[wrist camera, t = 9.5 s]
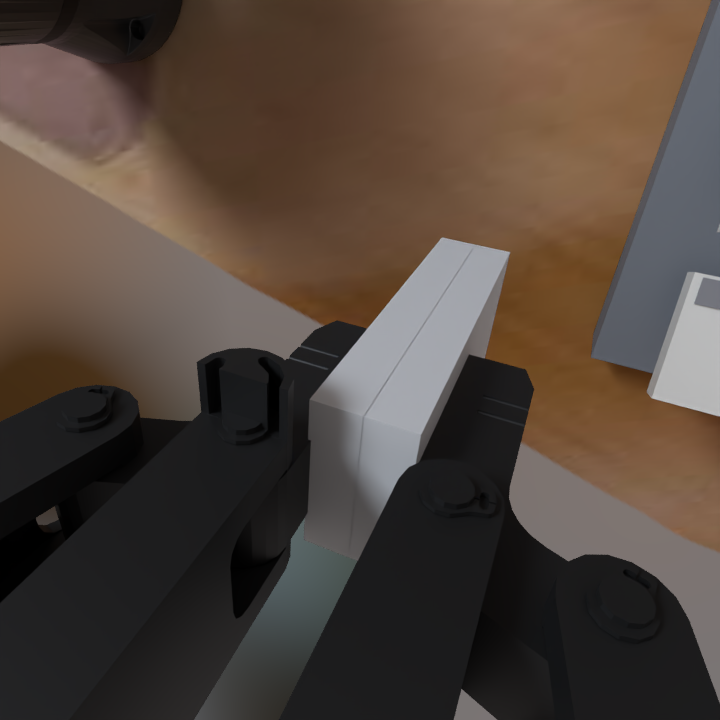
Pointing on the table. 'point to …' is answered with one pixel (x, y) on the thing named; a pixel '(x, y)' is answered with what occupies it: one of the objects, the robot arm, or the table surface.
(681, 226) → the switch unit
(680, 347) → the rocker
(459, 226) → the table surface
